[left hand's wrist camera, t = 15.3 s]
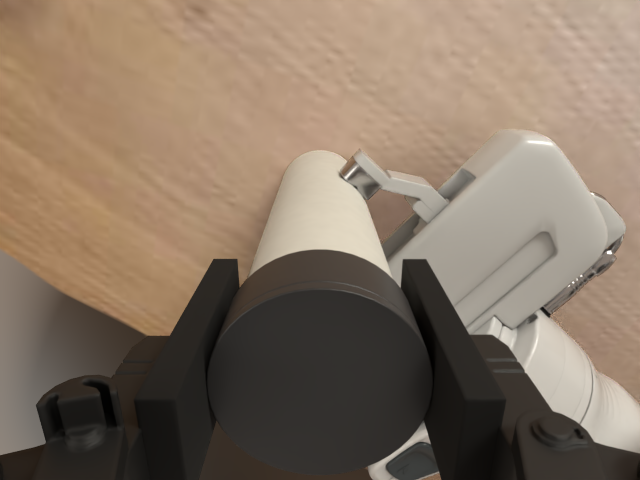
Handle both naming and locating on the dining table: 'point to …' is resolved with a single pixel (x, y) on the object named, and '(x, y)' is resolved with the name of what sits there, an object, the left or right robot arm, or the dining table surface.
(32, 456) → the left robot arm
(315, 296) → the lid
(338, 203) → the cream white bottle
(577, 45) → the dining table surface
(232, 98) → the dining table surface
